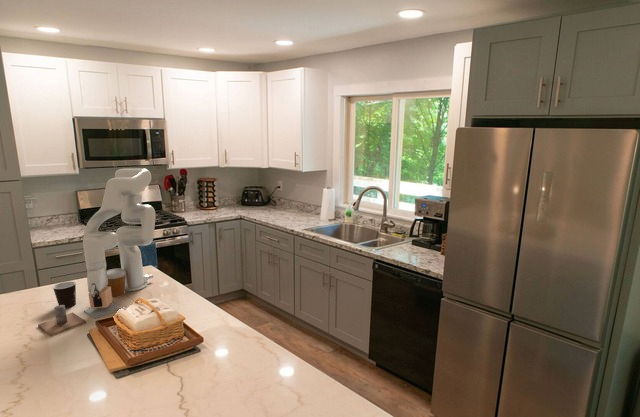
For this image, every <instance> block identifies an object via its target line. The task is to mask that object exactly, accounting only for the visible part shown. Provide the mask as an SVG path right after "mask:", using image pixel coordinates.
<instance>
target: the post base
mask: <svg viewBox="0 0 640 417" xmlns="http://www.w3.org/2000/svg"><path fill="white" fill-rule="evenodd" d="M66 310H67V309H65V305H56V306H55V307H54V314H55V318H52V319H50V320H47V321H44V322H41V323H39V324H37V326H38V328H39V329H41V330H42V331H43V332H44V333H46V334H47V335H48V336H50V337H53V336H56V335H59V334H62V333H63V332H67V331H70V330H72V329H74V328H77V327H80V326H83V325H84V324H85V325H86V324H87V320H85V319H83V318H82V317H81V316H79V315H77V314H76V313H74V312H70V313H67V312H66Z"/></svg>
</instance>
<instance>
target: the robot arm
mask: <svg viewBox="0 0 640 417" xmlns="http://www.w3.org/2000/svg"><path fill="white" fill-rule="evenodd" d="M151 181H152V173H151V171H150V170H148V169H147V168H120V169H117V170H116V171H115V173H114V177H113V178H112V177H111V178H109V179H108V180H107V182H106V185H105V188H104V193H103V199H102V202H101V206H100V208H99V209H98V211H96V212H95V213H94V214H93V215H92V216H91V217H90V218H89V220H88V222H87V223H86V225H85V229H84V233H83V240H82V246H83V254H84V259H85V267H86V271H87V272H86V273H87V275H86V276H87V277H86V278H87V279H86V280H87V290H88V294H89V293H90V295H91V296H92V299H93V302H94V307H102V299H101V298H100V292H101V291H102V290H103V289H104V288H105V287H108V286H107V285H108V276H107V271H108V270H107V260H106V253H105V251H107V250H111V249H114V248H115V247H117V248H118V251H119V259H120V266H121V268H122V269H124V270H125V271H126V274H125V292H135V291H139V290H142V289H144V288H146V287H148V285H149V282H148V280H150V279H154V276H153V274H145V275H144V269H143V268H144V267H143V259H142V252H141V249H140V248H139V246H140V247H141V246H149V245H151V244H152V242H153V240H154V236H155V235H154V234H155V224H156V210H155V208H154V207H153V206H152V205H150V204H142V197H143V196H142V193H141V192H142V191H143V190H144V189H146V188H147V187H148V186H149V185H150V183H151ZM119 215H120V216H121V221H122V223H125V224H138V225H124V226H120V227H118V228H117V229H116V231H99V228H100V226H101V225H102V224H103V223H104V222H105V221H107V220H109V219H111V218H113V217H115V216H119ZM139 224H140V225H139ZM95 290H98V291H95ZM95 293H98V295H97V294H95Z"/></svg>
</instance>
